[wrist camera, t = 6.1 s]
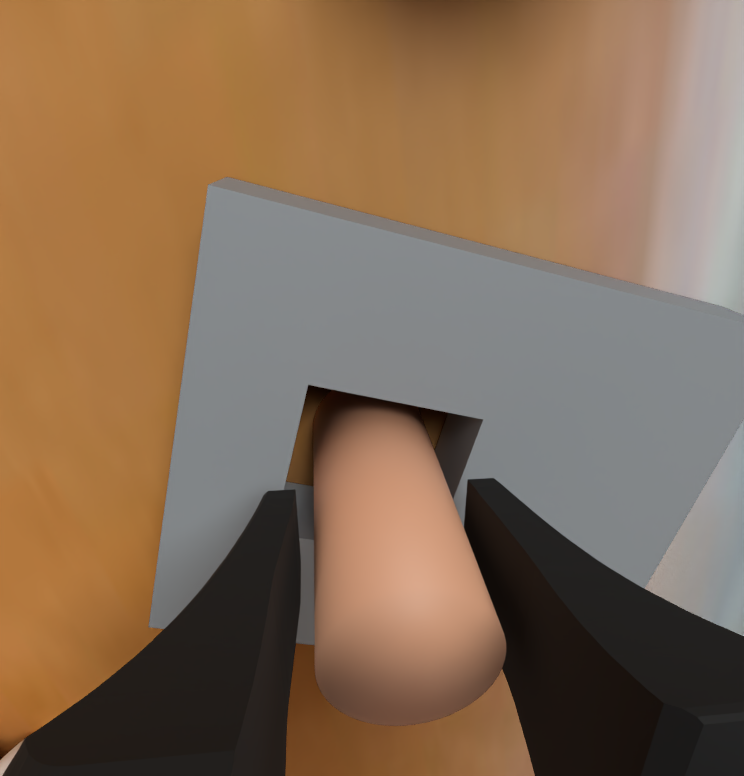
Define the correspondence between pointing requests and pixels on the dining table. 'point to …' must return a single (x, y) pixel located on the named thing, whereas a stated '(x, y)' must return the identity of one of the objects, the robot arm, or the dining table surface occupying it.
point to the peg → (393, 571)
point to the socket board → (438, 380)
